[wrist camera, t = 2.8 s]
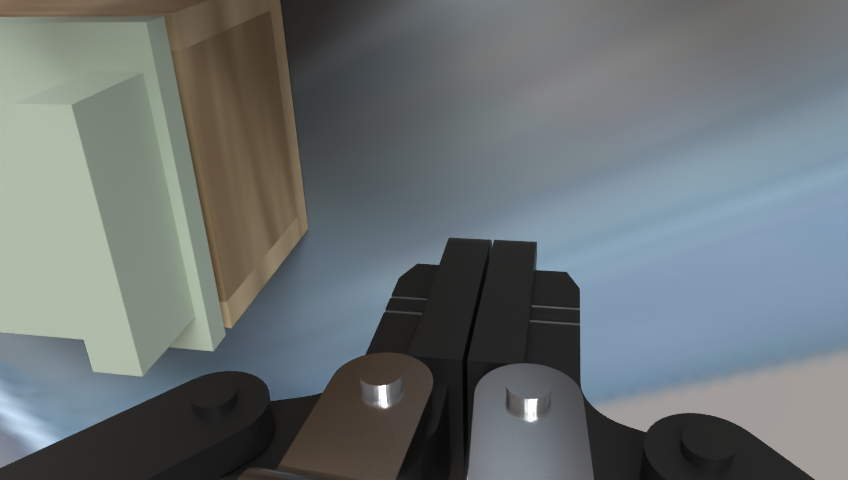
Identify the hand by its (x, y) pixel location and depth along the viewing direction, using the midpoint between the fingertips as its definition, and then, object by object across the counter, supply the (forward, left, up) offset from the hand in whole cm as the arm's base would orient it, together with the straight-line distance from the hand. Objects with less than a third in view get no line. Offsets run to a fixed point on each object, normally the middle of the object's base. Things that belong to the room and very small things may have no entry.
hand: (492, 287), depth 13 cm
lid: (+12, 0, -3) cm, 12 cm away
